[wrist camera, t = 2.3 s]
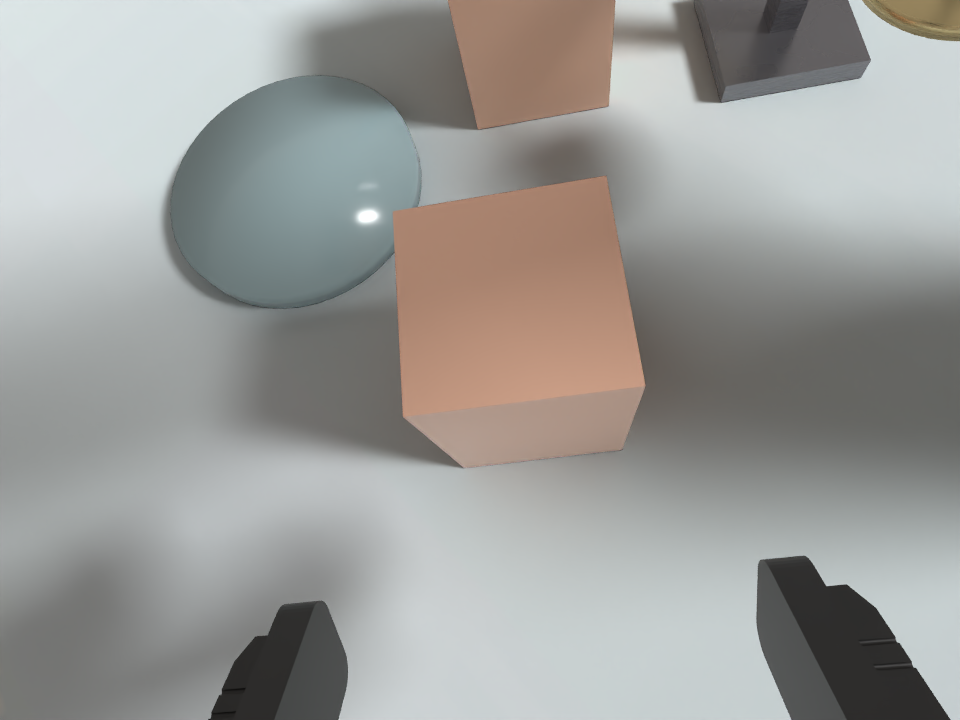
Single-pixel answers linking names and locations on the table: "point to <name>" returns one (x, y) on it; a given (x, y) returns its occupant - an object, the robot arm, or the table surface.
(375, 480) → the table surface
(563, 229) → the salmon rectangular block
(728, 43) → the balance
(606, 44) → the salmon square column
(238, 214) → the dish
